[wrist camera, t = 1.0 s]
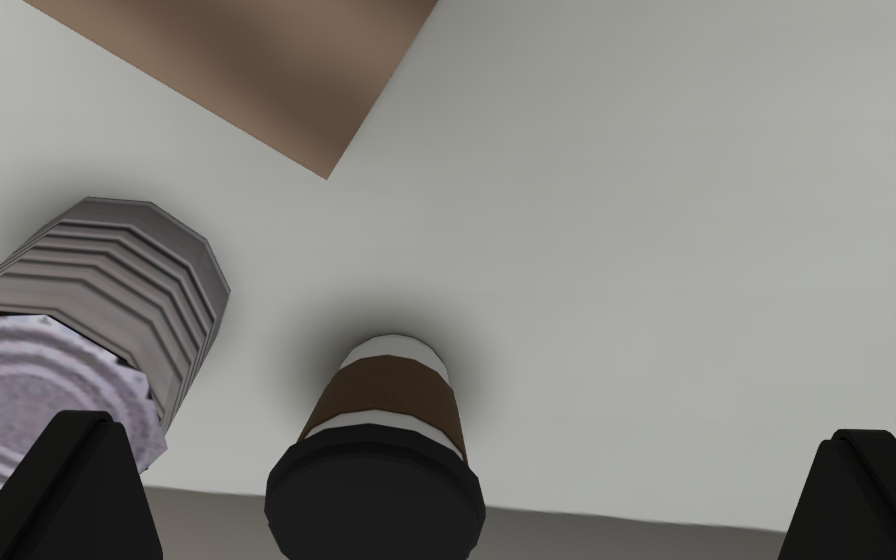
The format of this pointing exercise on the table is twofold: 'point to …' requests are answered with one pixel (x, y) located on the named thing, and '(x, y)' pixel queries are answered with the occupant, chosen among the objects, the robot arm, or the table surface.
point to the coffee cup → (379, 465)
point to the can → (105, 323)
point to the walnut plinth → (262, 60)
